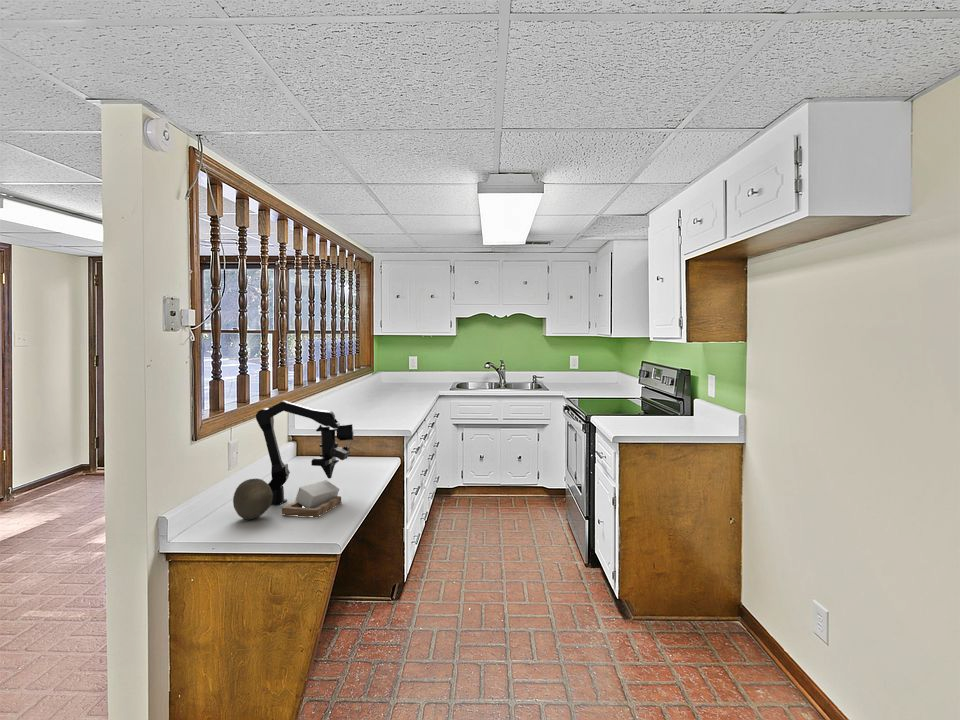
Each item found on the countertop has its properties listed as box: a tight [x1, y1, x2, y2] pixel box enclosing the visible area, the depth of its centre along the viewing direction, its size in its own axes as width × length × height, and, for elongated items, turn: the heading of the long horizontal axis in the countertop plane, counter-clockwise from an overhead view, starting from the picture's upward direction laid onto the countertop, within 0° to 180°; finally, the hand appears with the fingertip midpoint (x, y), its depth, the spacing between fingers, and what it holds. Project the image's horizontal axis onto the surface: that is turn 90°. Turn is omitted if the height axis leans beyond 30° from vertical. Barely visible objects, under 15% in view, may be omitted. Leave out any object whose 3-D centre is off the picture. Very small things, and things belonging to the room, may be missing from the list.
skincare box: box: [294, 479, 340, 508], centre depth 248 cm, size 8×7×16 cm
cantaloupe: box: [232, 478, 273, 520], centre depth 232 cm, size 14×14×15 cm
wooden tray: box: [281, 495, 342, 518], centre depth 243 cm, size 20×15×3 cm
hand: (329, 478), depth 256 cm, fingers closed
